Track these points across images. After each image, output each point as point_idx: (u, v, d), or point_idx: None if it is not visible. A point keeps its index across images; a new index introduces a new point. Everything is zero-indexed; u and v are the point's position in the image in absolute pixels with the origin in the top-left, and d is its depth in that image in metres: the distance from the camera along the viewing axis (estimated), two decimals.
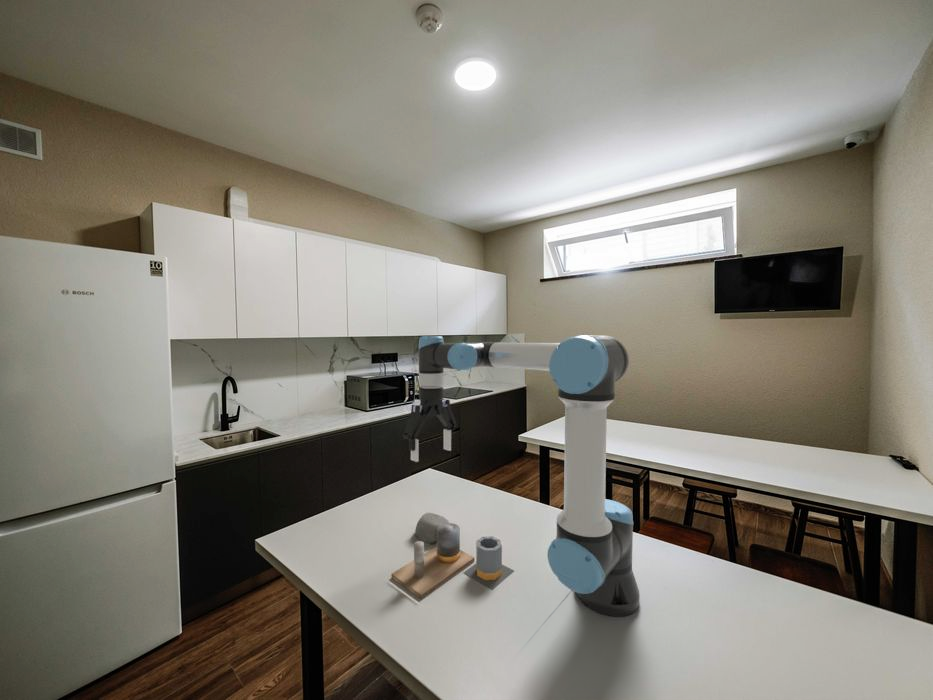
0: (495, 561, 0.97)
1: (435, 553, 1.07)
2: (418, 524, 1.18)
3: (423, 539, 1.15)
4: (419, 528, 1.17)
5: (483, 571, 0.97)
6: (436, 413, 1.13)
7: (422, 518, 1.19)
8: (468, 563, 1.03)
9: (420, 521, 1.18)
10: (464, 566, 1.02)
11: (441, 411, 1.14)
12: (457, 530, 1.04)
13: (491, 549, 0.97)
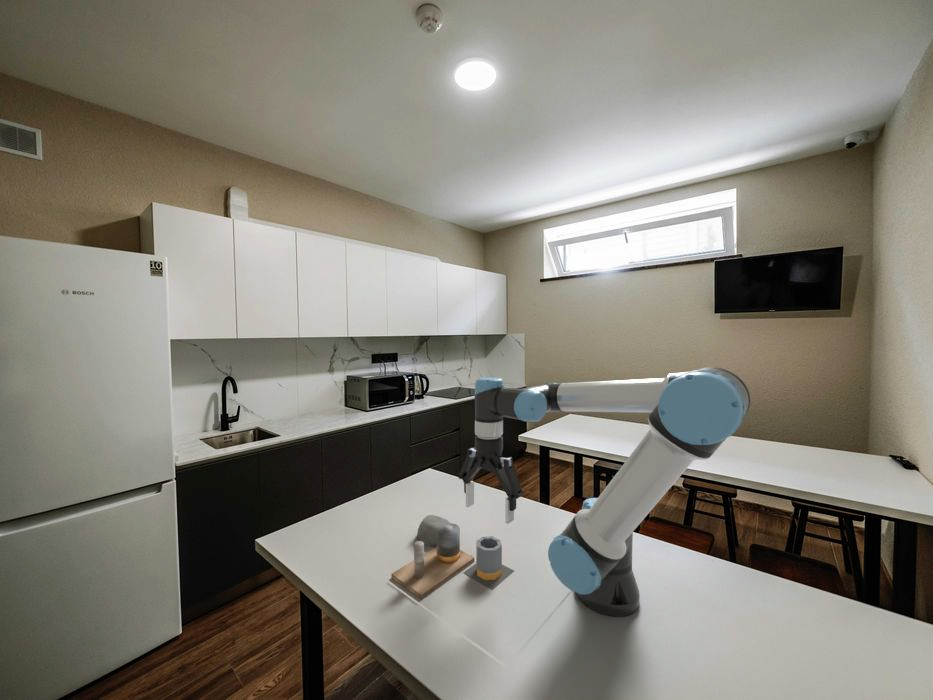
0: (495, 561, 0.97)
1: (435, 553, 1.07)
2: (421, 527, 1.16)
3: (425, 542, 1.14)
4: (421, 530, 1.16)
5: (483, 571, 0.97)
6: (489, 468, 0.97)
7: (424, 520, 1.17)
8: (468, 563, 1.03)
9: (422, 523, 1.16)
10: (464, 566, 1.02)
11: (492, 468, 0.96)
12: (457, 530, 1.04)
13: (491, 549, 0.97)
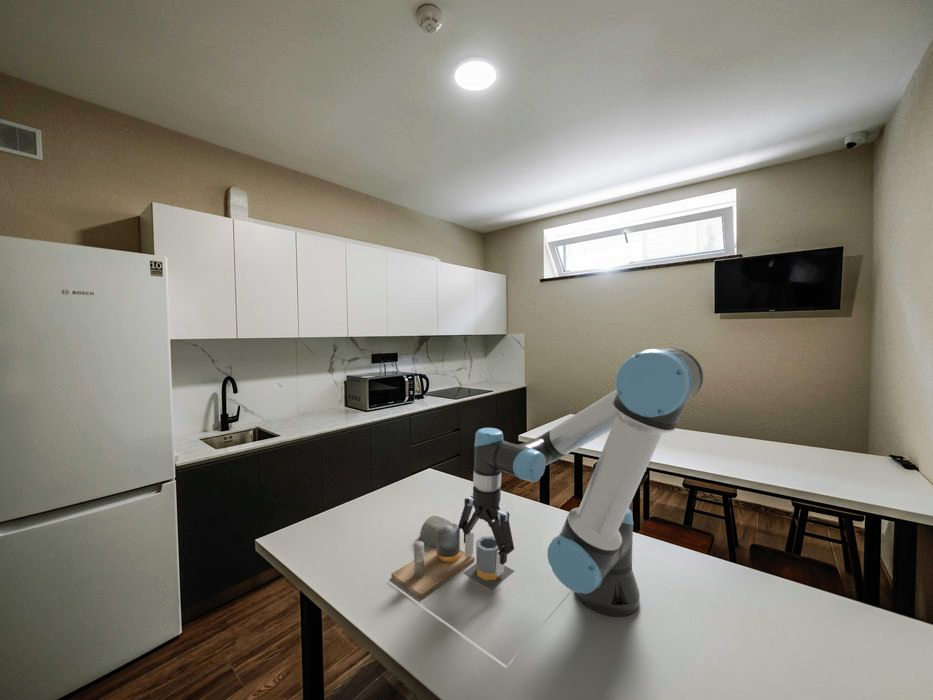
0: (495, 561, 0.97)
1: (435, 553, 1.07)
2: (423, 528, 1.16)
3: (427, 543, 1.13)
4: (423, 531, 1.15)
5: (483, 571, 0.97)
6: (486, 518, 0.99)
7: (427, 521, 1.17)
8: (468, 563, 1.03)
9: (425, 524, 1.16)
10: (464, 566, 1.02)
11: (488, 520, 0.97)
12: (457, 530, 1.04)
13: (491, 549, 0.97)
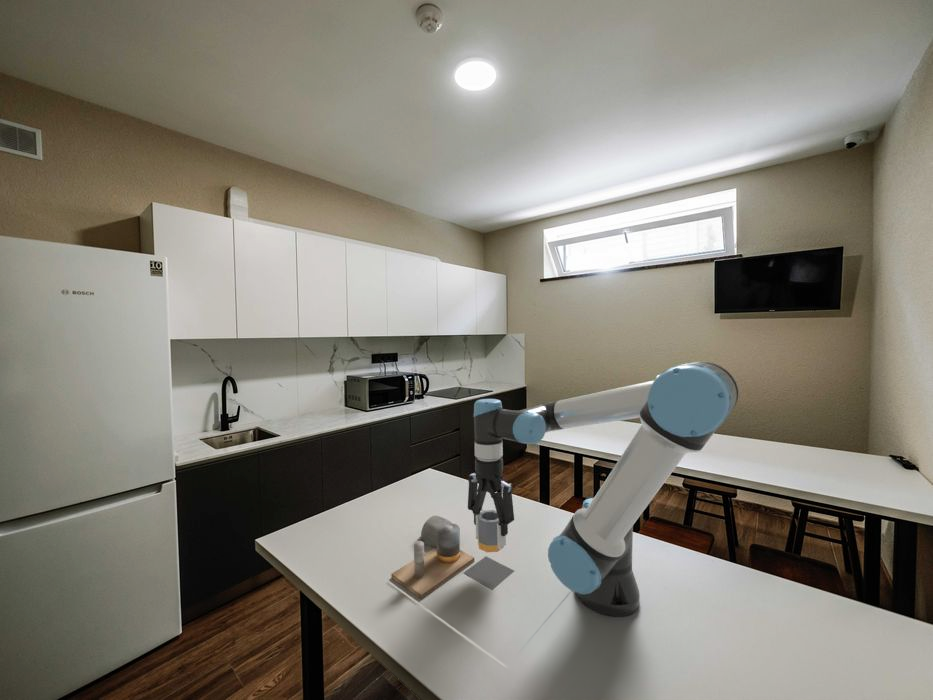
0: None
1: (435, 553, 1.07)
2: (424, 527, 1.16)
3: (427, 542, 1.14)
4: (424, 530, 1.15)
5: (485, 543, 0.96)
6: None
7: (428, 521, 1.17)
8: (468, 563, 1.03)
9: (426, 524, 1.16)
10: (464, 566, 1.02)
11: (491, 491, 0.96)
12: (457, 530, 1.04)
13: (492, 521, 0.96)
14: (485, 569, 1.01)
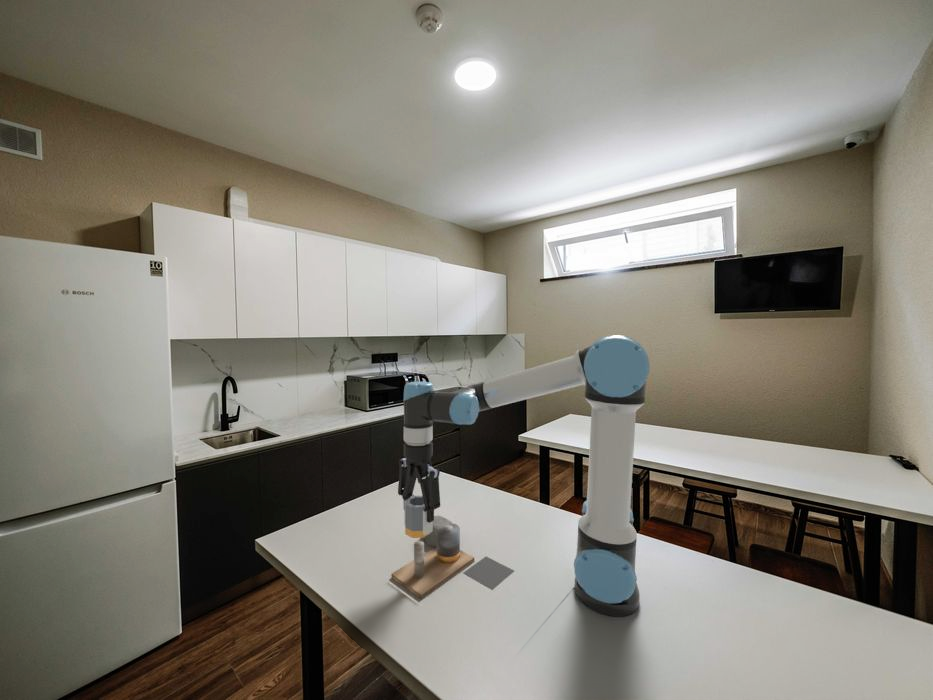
0: (422, 518, 0.93)
1: (435, 553, 1.07)
2: None
3: (428, 542, 1.14)
4: None
5: (410, 529, 0.94)
6: None
7: None
8: (468, 563, 1.03)
9: None
10: (464, 566, 1.02)
11: (418, 476, 0.93)
12: (457, 530, 1.04)
13: (418, 506, 0.94)
14: (485, 569, 1.01)
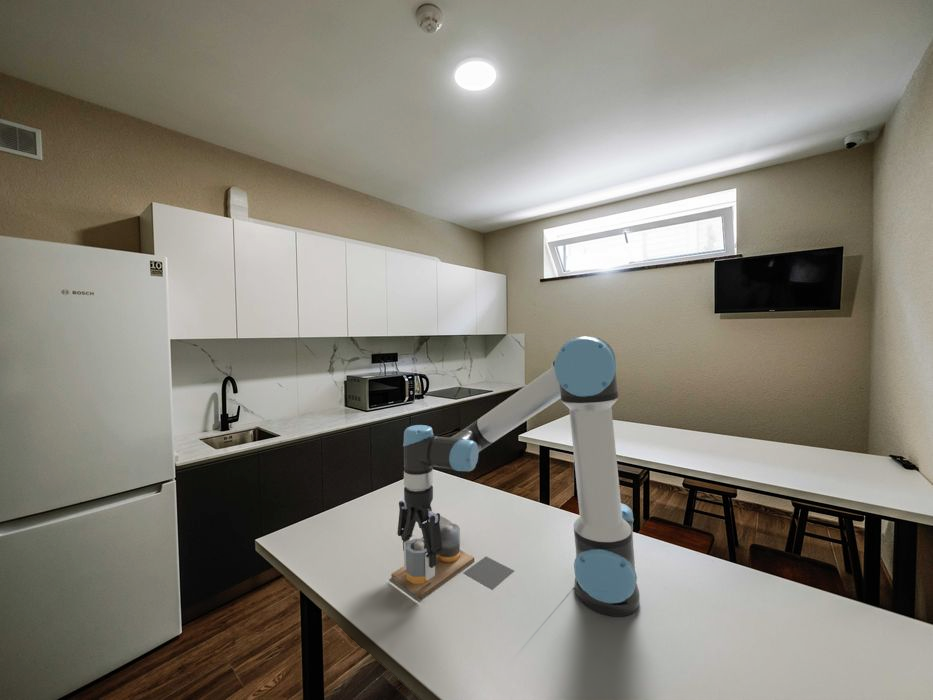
0: (423, 564, 0.94)
1: None
2: None
3: None
4: None
5: (411, 574, 0.94)
6: None
7: None
8: (468, 563, 1.03)
9: None
10: (464, 566, 1.02)
11: (419, 521, 0.94)
12: (457, 530, 1.04)
13: (419, 552, 0.94)
14: (485, 569, 1.01)
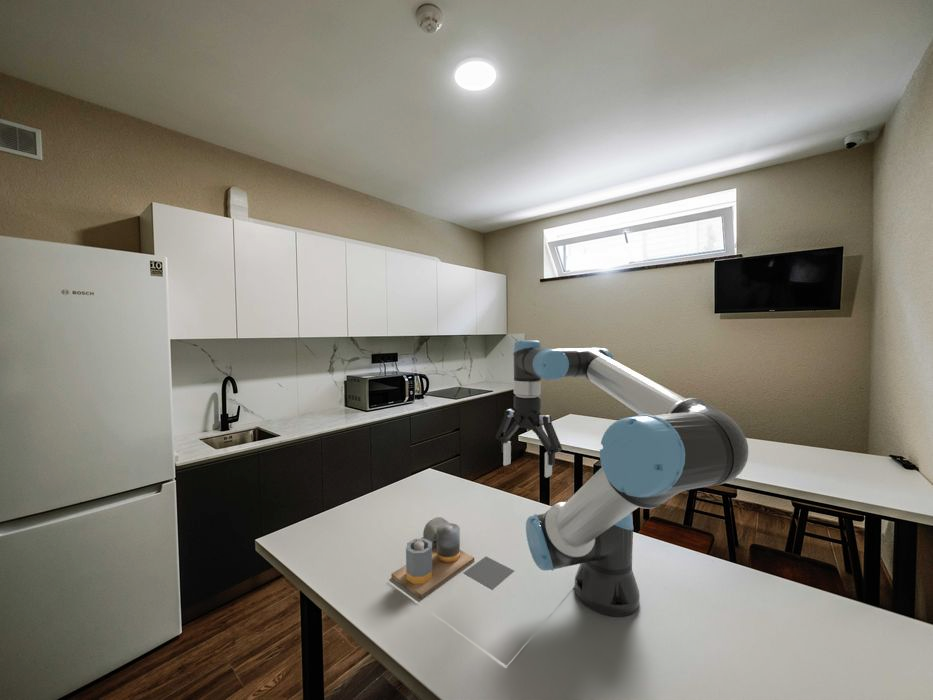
0: (423, 564, 0.94)
1: (435, 553, 1.07)
2: (425, 527, 1.16)
3: None
4: (424, 530, 1.16)
5: (411, 574, 0.94)
6: (528, 426, 1.02)
7: (430, 521, 1.17)
8: (468, 563, 1.03)
9: (427, 524, 1.16)
10: (464, 566, 1.02)
11: (532, 425, 1.00)
12: (457, 530, 1.04)
13: (419, 552, 0.94)
14: (485, 569, 1.01)
